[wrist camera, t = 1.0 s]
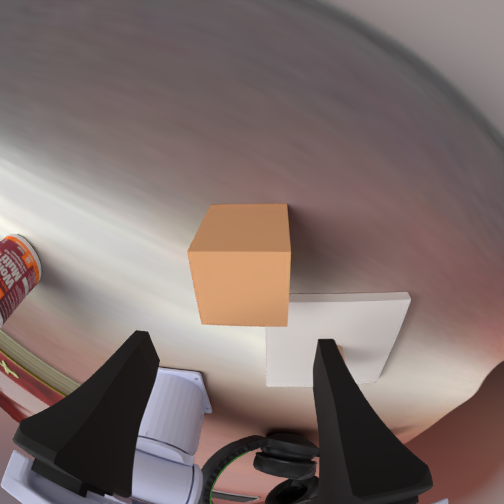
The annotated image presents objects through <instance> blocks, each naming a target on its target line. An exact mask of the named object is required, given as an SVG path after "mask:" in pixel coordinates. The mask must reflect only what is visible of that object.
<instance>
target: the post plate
mask: <svg viewBox="0 0 504 504" xmlns="http://www.w3.org/2000/svg"><path fill="white" fill-rule="evenodd" d="M410 302H411V298H410V296H409V294H408V292H387V293H351V294H289V308H288V326H287V327H266V387H312V386H313V364H314V359H315V354H316V348H317V343H318V339H334V340H335V342H336V344H337V347H338V349H339V351H340V353H341V356H342V358H343V360H344V362H345V364H346V366H347V368H348V370H349V371H350V373H351V375H352V377H353V379H354V380H355V382H356V384H363V383H373V382H376V381H377V379H378V377H379V375H380V373H381V371H382V369H383V367H384V365H385V363H386V361H387V358H388V356H389V354H390V352H391V349H392V347H393V345H394V342H395V340H396V338H397V335H398V333H399V330H400V328H401V325H402V323H403V320H404V318H405V315H406V312H407V310H408V307H409V304H410Z"/></svg>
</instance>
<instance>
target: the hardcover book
mask: <svg viewBox="0 0 504 504" xmlns="http://www.w3.org/2000/svg"><path fill="white" fill-rule="evenodd" d="M0 371H1V372H2V373H4V374H5V375H6V376H8V377H9V378H10V379H11V380H13V381H14V382H15V383H17V384H18V385H19V386H21V387H22V388H24V389H25V390H26V391H28V392H29V393H31V394H32V395H34V396H35V397H37V398H38V399H40V400H41V401H43V402H44V403H46V404H47V405H49V406H52V405H54V404H56V403H57V402H59V401H60V400H62V399H63V398H65V397H66V396H68V395H69V394H70V393H72V392H73V391H74V390H76V389H77V388H78V387H80V386H81V385H80V384H78V383H77V382H75V381H73V380H72V379H70V378H68V377H67V376H65V375H64V374H62V373H60V372H59V371H57V370H56V369H54V368H52V367H51V366H49V365H48V364H46V363H45V362H43V361H42V360H41V359H39V358H38V357H36V356H35V355H33V354H32V353H31V352H29V351H28V350H26V349H25V348H24V347H22V346H21V345H20V344H18V343H17V342H16V341H15V340H13V339H12V338H11V337H9V336H8V335H7V334H6V333H4V332H3V331H2V330H1V329H0Z"/></svg>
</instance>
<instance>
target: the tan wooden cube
mask: <svg viewBox="0 0 504 504" xmlns="http://www.w3.org/2000/svg"><path fill="white" fill-rule="evenodd" d="M187 252H188V258H189V264H190V269H191V274H192V280H193V285H194V290H195V295H196V300H197V305H198V309H199V314H200V319H201V323H202V324H207V325H228V326H263V327H287V326H288V308H289V287H290V263H291V247H290V234H289V222H288V210H287V204H218V205H211V206H210V208H209V210H208V212H207V214H206V215H205V217H204V219H203V221H202V223H201V225H200V227H199V229H198V231H197V233H196V235H195V237H194V239H193V241H192V243H191V245H190V247H189V249H188V251H187Z"/></svg>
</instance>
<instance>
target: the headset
mask: <svg viewBox="0 0 504 504" xmlns="http://www.w3.org/2000/svg"><path fill="white" fill-rule="evenodd" d="M260 447H261V450H262V452H257V453H256V456H255V458H254V462H253V466H254V468H255V469H257V470H259V471H261V472H264V473H266V474H270V475H274V476H278V477H284V478H289V479H288V480H286V481H284V482H282V483H280V484H279V485H277V486H276V487H275V488H274V489H272V490H271V491H270V493H269V494H268V495H267V497H266V500H265V504H318V490H319V478H318V477H317V476H314V475H315V472H316V464H317V462H315V461H312V460H311V459H313V458H314V457H315V456H316V457H320V448H318V447H317V446H316V445H314V444H313V443H312V442H311V441H309V440H308V439H307V438H305V437H304V436H301V435H294V434H287V433H280V434H279V433H277V434H275V435H271V436H268V437H262V436H258V435H253V436H248V437H245V438H242V439H239V440H238V441H235V442H232V443H230V444H228V445H226V446H224V447H223V448H221V449H220V450H218V451H217V452H216V453H215V454H214V455H213V456H211V458H210V459H209V460H208V461H207V462H206V463H205V465H204V466H203V468H202V470H201V471H202V474H203V484H202V491H201V495H200V498H199V501H198V503H197V504H213V502H212V501H211V494H212V490H213V487H214V484H215V482H216V480H217V479H218V477H219V475H220V474H221V473H222V471H223V470H224V469H225V468H226V467H227V466H228V465H229V464H230V463H232V462H233V461H234V460H236V459H237V458H239V457H240V456H242V455H244V454H246V453H248V452H249V451H253V450H255V449H258V448H260Z"/></svg>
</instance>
